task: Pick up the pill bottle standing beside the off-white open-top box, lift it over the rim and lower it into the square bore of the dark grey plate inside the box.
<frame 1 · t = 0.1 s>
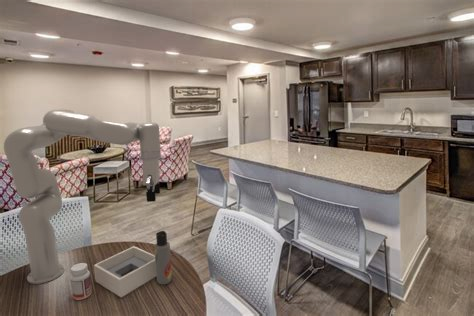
hand: (153, 197, 115), 31 cm above the table, tool pointing down, fingers open, 9 cm apart
pill bottle: (82, 295, 104), on the table
lotion bottle: (164, 280, 112), on the table
box: (128, 277, 115), on the table
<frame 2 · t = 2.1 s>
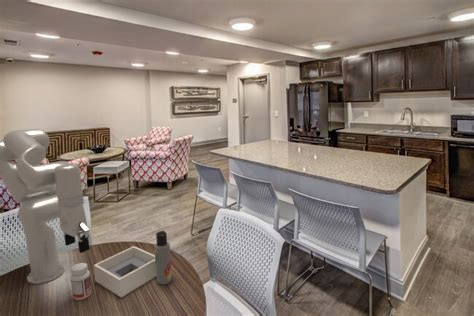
hand: (77, 247, 101), 19 cm above the table, tool pointing down, fingers open, 9 cm apart
nothing on the table moved.
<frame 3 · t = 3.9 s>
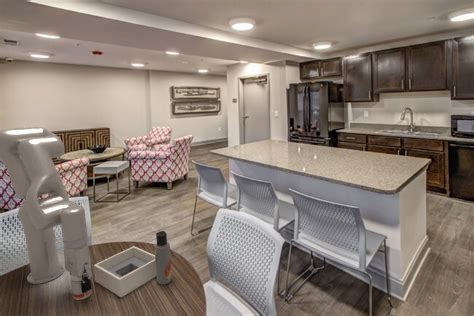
hand: (81, 287, 104), 3 cm above the table, tool pointing down, fingers closed on pill bottle, 6 cm apart
pill bottle: (82, 295, 104), on the table, touching gripper
everything else where it was.
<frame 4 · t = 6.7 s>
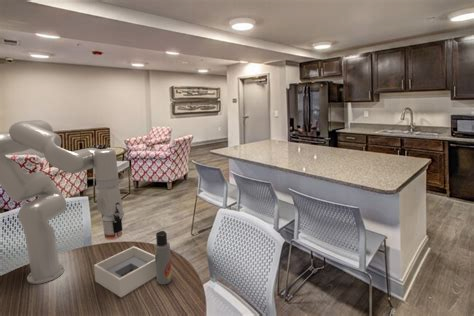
hand: (113, 229, 108), 22 cm above the table, tool pointing down, fingers closed on pill bottle, 6 cm apart
pill bottle: (113, 237, 108), point 19 cm above the table, touching gripper
everything else where it was.
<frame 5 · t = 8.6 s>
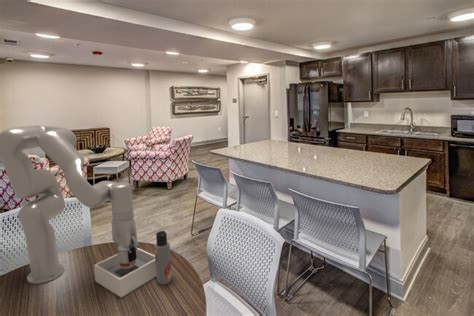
hand: (127, 257, 113), 9 cm above the table, tool pointing down, fingers closed on pill bottle, 6 cm apart
pill bottle: (127, 265, 114), point 5 cm above the table, touching gripper
everything else where it was.
when the fingers open (5 cm above the table, at t = 9.8 s): pill bottle drops 2 cm, resting in box.
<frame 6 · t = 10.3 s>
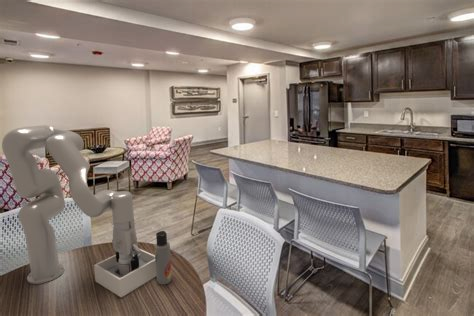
hand: (127, 264, 113), 6 cm above the table, tool pointing down, fingers open, 9 cm apart
pill bottle: (128, 277, 115), resting in box
everything else where it was.
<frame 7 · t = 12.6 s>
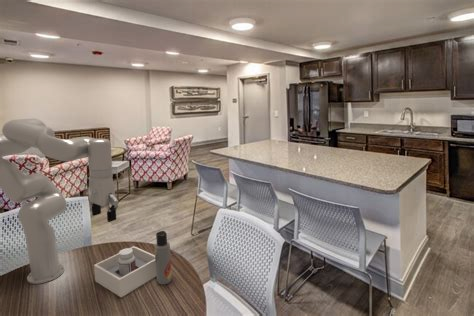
hand: (104, 217, 107), 26 cm above the table, tool pointing down, fingers open, 9 cm apart
nothing on the table moved.
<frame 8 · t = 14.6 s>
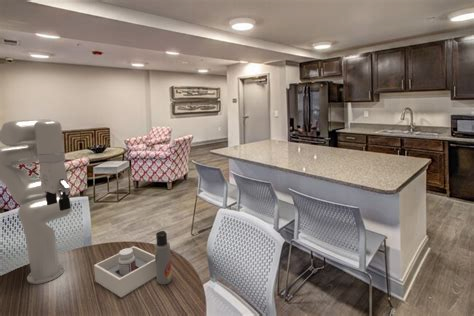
hand: (58, 206, 99), 33 cm above the table, tool pointing down, fingers open, 9 cm apart
nothing on the table moved.
at the end: pill bottle 0.2 cm off-centre on the box, point 0.0 cm above the box's base; pill bottle tilted 0°; the gripper is holding nothing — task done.
